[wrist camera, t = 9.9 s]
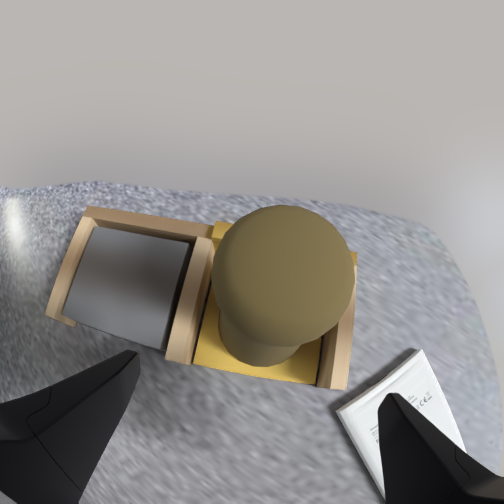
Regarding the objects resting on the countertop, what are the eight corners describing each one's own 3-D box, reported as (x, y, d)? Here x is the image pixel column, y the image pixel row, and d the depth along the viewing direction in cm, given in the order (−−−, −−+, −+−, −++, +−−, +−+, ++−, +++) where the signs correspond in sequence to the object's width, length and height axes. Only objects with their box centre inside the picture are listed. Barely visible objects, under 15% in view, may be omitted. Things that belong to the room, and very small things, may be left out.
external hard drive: (389, 512, 12) (332, 409, 17) (457, 452, 14) (413, 350, 18) (398, 518, 11) (339, 412, 15) (468, 454, 12) (424, 347, 17)
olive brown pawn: (311, 361, 17) (397, 336, 7) (221, 371, 17) (196, 363, 7) (299, 278, 20) (353, 178, 10) (215, 284, 19) (193, 183, 10)
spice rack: (330, 388, 17) (349, 389, 14) (66, 324, 18) (40, 312, 14) (342, 268, 21) (359, 247, 18) (102, 223, 21) (85, 200, 18)
